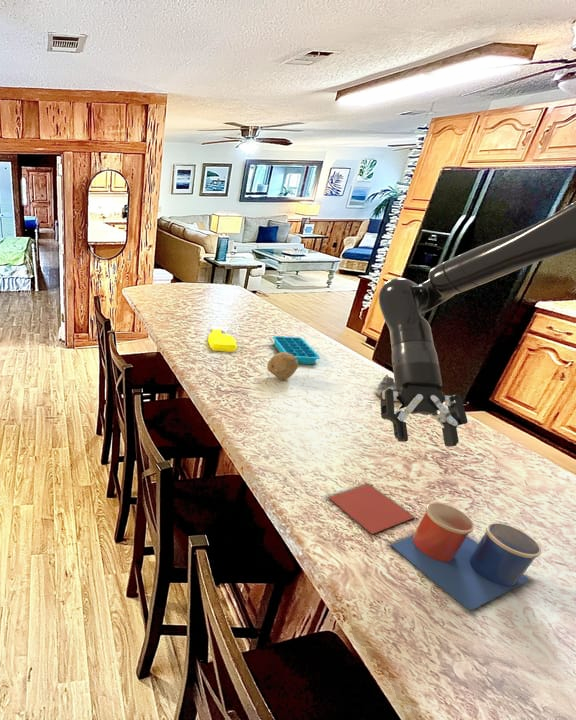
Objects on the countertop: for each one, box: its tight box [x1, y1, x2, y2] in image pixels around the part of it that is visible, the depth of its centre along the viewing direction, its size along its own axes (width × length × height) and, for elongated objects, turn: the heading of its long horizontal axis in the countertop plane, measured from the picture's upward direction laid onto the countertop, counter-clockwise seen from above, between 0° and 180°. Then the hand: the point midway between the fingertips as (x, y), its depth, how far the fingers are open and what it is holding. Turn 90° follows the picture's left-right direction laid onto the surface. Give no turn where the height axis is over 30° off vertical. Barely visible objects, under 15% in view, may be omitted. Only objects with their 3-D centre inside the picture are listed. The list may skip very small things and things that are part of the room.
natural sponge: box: [267, 352, 299, 381], centre depth 131 cm, size 9×9×10 cm
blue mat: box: [390, 535, 530, 612], centre depth 70 cm, size 16×13×1 cm
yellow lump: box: [207, 326, 238, 353], centre depth 163 cm, size 3×11×24 cm
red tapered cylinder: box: [412, 502, 475, 562], centre depth 71 cm, size 7×7×8 cm
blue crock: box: [469, 522, 543, 586], centre depth 67 cm, size 7×7×8 cm
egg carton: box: [376, 374, 399, 402], centre depth 123 cm, size 11×8×4 cm
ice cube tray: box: [272, 335, 321, 365], centre depth 151 cm, size 12×20×3 cm, turn 173°
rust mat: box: [328, 483, 415, 535], centre depth 81 cm, size 12×10×1 cm
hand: (426, 443), depth 76 cm, fingers open, 8 cm apart
